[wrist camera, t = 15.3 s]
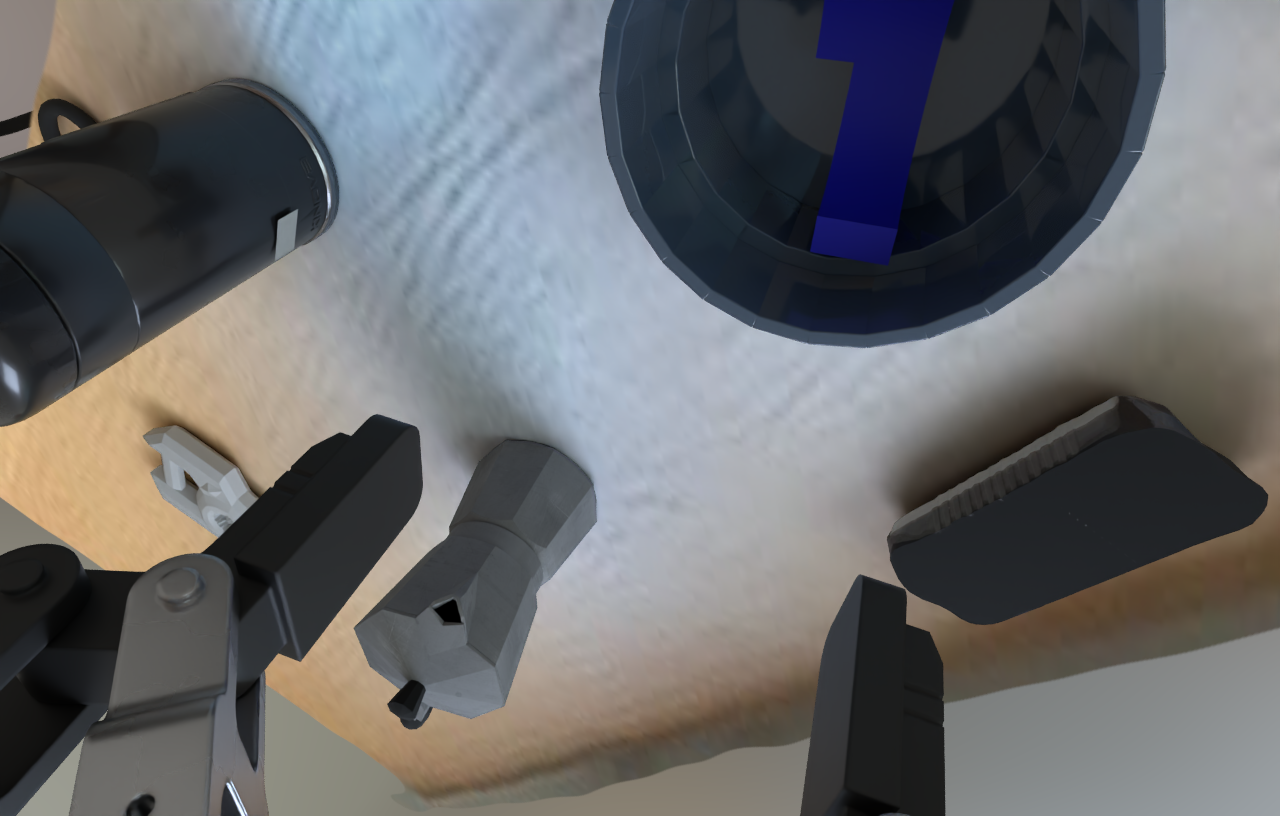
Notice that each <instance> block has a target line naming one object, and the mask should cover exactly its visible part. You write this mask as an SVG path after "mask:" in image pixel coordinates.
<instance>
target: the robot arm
mask: <svg viewBox="0 0 1280 816" xmlns="http://www.w3.org/2000/svg"><path fill="white" fill-rule="evenodd" d="M32 112H33V111H30V112H27V113H25V114H22V115H19V116H16V117H13V118H11V119H7V120H4V121H1V122H0V137H1V136H5V135H9V134H13V133H16V132H19V131H22V130H24V129H27V128H30V127H31V120H32ZM59 115H61V116H64V117H66V118H68V119H69V120H71V121H72V122H73V123H74V124H76V125H77V126H78V127H79V128H80V129H79V130H76V131H73V132H70V133H67V134H64V135H60V131H59V128H58V122H57V117H58V116H59ZM38 122H39V127H40V131H41V134H42V137H43V139H44V142H43V143H41V144H40V145H37V146H34V147H31V148H29V149H26V150H23V151H20V152H17V153H14V154H11V155H8V156H5V157H2V158H0V427H4V426H9V425H12V424H15V423H18V422H21V421H23V420H26V419H28V418H29V417H31V416H33V415H35V414H37V413H39V412H40V411H42V410H43V409H45V408H46V407H48V406H49V405H51V404H53V403H54V402H56V401H57V400H59V399H60V398H62V397H64V396H65V395H67V394H68V393H70V392H71V391H73V390H74V389H76V388H78V387H79V386H81V385H82V384H84V383H85V382H87V381H89V380H90V379H92V378H93V377H95V376H96V375H98V374H100V373H101V372H103V371H104V370H106V369H107V368H109V367H111V366H112V365H114V364H115V363H117V362H119V361H120V360H122V359H123V358H124V357H126V356H127V355H129V354H131V353H132V352H134V351H135V350H137V349H138V348H140V347H142V346H143V345H145V344H146V343H148V342H150V341H151V340H153V339H154V338H156V337H157V336H159V335H161V334H162V333H164V332H165V331H167V330H168V329H170V328H172V327H173V326H175V325H176V324H178V323H180V322H181V321H183V320H184V319H186V318H187V317H189V316H191V315H192V314H194V313H195V312H197V311H199V310H200V309H202V308H203V307H205V306H206V305H208V304H210V303H211V302H213V301H214V300H216V299H217V298H219V297H221V296H222V295H224V294H225V293H227V292H229V291H230V290H232V289H233V288H235V287H236V286H238V285H240V284H241V283H243V282H244V281H246V280H247V279H249V278H251V277H252V276H254V275H255V274H257V273H259V272H260V271H262V270H263V269H265V268H266V267H268V266H270V265H271V264H273V263H274V262H276V261H278V260H279V259H281V258H283V257H284V256H286V255H287V254H289V253H290V252H292V251H294V250H295V249H297V248H298V247H300V246H302V245H305V244H307V243H309V242H311V241H313V240H314V239H316V238H317V237H319V236H321V235H322V234H323V233H325V232H326V231H327V230H328V229H329V227H330V226H331V225H332V223H333V221H334V219H335V216H336V214H337V210H338V204H339V187H338V181H337V176H336V172H335V168H334V165H333V162H332V160H331V157H330V155H329V153H328V151H327V149H326V147H325V145H324V143H323V141H322V140H321V138H320V136H319V135H318V133H317V132H316V130H315V129H314V127H313V126H312V125H311V124H310V122H309V121H308V120H307V119H306V118H305V116H304V115H303V114H302V113H301V112H300V111H299V110H298V109H297V108H296V107H295V106H294V105H293V104H291V103H290V102H289V101H288V100H287V99H285V98H284V97H283V96H281V95H280V94H278V93H277V92H275V91H274V90H272V89H270V88H268V87H266V86H264V85H262V84H259V83H256V82H253V81H250V80H245V79H227V80H223V81H220V82H217V83H214V84H211V85H208V86H206V87H204V88H202V89H201V90H199V91H198V92H195V93H194V92H189V93H186V94H183V95H180V96H177V97H174V98H171V99H168V100H165V101H162V102H159V103H156V104H153V105H150V106H147V107H144V108H141V109H138V110H135V111H132V112H129V113H126V114H123V115H121V116H118V117H115V118H112V119H109V120H106V121H103V122H100V123H97V122H95V121H94V120H93V119H92V118H91V117H90V116H89V115H88V114H86V113H85V112H84V111H83V110H81V109H80V108H78V107H77V106H75V105H73V104H71V103H69V102H67V101H65V100H61V99H50V100H47V101H46V102H44V103H43V104H41V107H40V109H39V113H38ZM422 489H423V480H422V464H421V449H420V435H419V430H418V429H417V427H415V426H413V425H410V424H407V423H403V422H400V421H397V420H394V419H391V418H388V417H385V416H382V415H379V414H376V415H373V416H371V417H370V418H369V419H368V420H366V422H365V423H364V424H363V425H362V426H361V427H360V428H359V429H358V430H357V431H356V432H355V433H354V434H353V435H352V436H349V435H346V434H343V433H338V434H336V435H334V436H332V437H330V438H328V439H326V440H324V441H322V442H320V443H318V444H316V445H314V446H312V447H311V448H310V449H309V450H308V451H307V452H306V453H305V454H304V455H303V456H302V457H301V458H300V459H299V460H297V461H296V462H295V463H294V464H293V465H292V466H291V470H290V471H286V472H285V473H284V474H283V475H282V476H281V477H280V478H279V479H278V480H277V481H276V482H275V484H274V487H273V488H271V487H270V488H269V489H268V490H267V491H266V492H265V493H264V494H263V495H262V496H261V497H260V498H259V499H258V500H257V501H256V502H254V503H253V504H252V505H251V506H250V507H249V508H248V509H247V510H246V511H245V512H244V513H243V514H242V515H241V516H240V517H239V518H238V519H237V520H236V521H235V522H234V523H233V524H232V525H231V526H230V527H229V528H228V529H227V530H226V531H225V532H224V533H223V534H222V535H221V536H220V537H219V538H218V539H217V540H216V541H215V542H214V543H213V544H211V545H210V546H209V547H208V548H207V549H206V550H205V551H203V552H202V553H200V554H199V553H193V554H184V555H180V556H176V557H173V558H170V559H167V560H165V561H162V562H160V563H158V564H157V565H155V566H153V567H152V568H150V569H149V570H148V571H146V572H129V571H108V570H87V569H84V568H83V567H82V564H81V562H80V561H79V559H78V557H77V556H76V555H75V553H74V552H73V551H71V550H70V549H68V548H66V547H64V546H60V545H55V544H36V545H30V546H25V547H21V548H18V549H15V550H12V551H9V552H7V553H5V554H3V555H1V556H0V816H16V815H17V814H18V813H19V812H20V810H21V809H22V808H23V807H24V806H25V805H26V803H27V802H28V801H29V800H30V799H31V798H32V797H33V795H34V794H35V793H36V792H37V791H38V790H39V789H40V787H41V786H42V785H43V784H44V783H45V782H46V780H47V779H48V778H49V777H50V776H51V775H52V773H53V772H54V771H55V770H56V769H57V768H58V767H59V765H60V764H61V763H62V762H63V761H64V760H65V758H67V756H68V755H69V754H70V753H71V751H72V750H73V749H74V748H75V747H76V746H77V744H79V743H80V741H81V740H82V739H83V738H84V737H85V738H84V741H83V746H82V750H81V755H80V760H79V765H78V770H77V776H76V781H75V786H74V791H73V796H72V802H71V807H70V812H69V816H269V814H268V806H267V800H266V794H265V785H264V751H265V679H266V678H265V671H264V670H265V669H266V668H267V666H268V665H269V664H270V663H271V661H272V660H273V659H274V658H275V656H276V655H277V654H278V653H279V654H282V655H284V656H287V657H289V658H292V659H294V660H297V661H300V662H301V660H302V659H303V658H304V657H305V655H306V654H307V653H308V651H309V650H310V649H311V647H312V646H313V645H314V644H315V642H316V641H317V640H318V638H319V637H320V636H321V634H322V633H323V632H324V630H325V629H326V628H327V627H328V625H329V624H330V623H331V621H332V620H333V619H334V617H335V616H336V615H337V614H338V612H339V611H340V610H341V608H342V607H343V606H344V604H345V603H346V602H347V601H348V599H349V598H350V597H351V595H352V594H353V593H354V591H355V590H356V589H357V588H358V586H359V585H360V584H361V582H362V581H363V580H364V578H365V577H366V576H367V575H368V573H369V572H370V571H371V569H372V568H373V567H374V565H375V564H376V563H377V562H378V560H379V559H380V558H381V556H382V555H383V554H384V552H385V551H386V550H387V549H388V547H389V546H390V545H391V543H392V542H393V541H394V539H395V538H396V537H397V536H398V534H399V533H400V532H401V530H402V529H403V528H404V526H405V525H406V524H407V523H408V521H409V520H410V519H411V517H412V516H413V514H414V512H415V511H416V509H417V506H418V504H419V501H420V498H421V495H422ZM906 606H907V595H906V591H905V589H903V588H900V587H897V586H894V585H891V584H888V583H885V582H882V581H879V580H876V579H873V578H870V577H867V576H864V575H861V574H860V575H858V577H857V578H856V580H855V581H854V583H853V585H852V587H851V589H850V591H849V593H848V595H847V597H846V599H845V601H844V602H843V604H842V606H841V608H840V610H839V612H838V614H837V616H836V618H835V620H834V622H833V624H832V626H831V628H830V630H829V633H828V636H827V639H826V642H825V645H824V649H823V654H822V658H821V665H820V672H819V680H818V687H817V694H816V702H815V709H814V717H813V724H812V732H811V739H810V747H809V754H808V761H807V769H806V776H805V784H804V792H803V799H802V806H801V814H800V816H945V763H944V761H945V759H944V727H943V722H944V701H942V698H943V695H944V691H943V662H942V660H941V658H940V655H939V653H938V651H937V648H936V646H935V644H934V641H933V639H932V637H931V634H930V632H928V631H925V630H922V629H919V628H916V627H913V626H910V625H907V624H906ZM107 710H108V711H107ZM106 711H107V714H106V717H105V719H104V720H102V721H99V719H100V718H101V717H102V716H103V715H104V714H105V713H106Z"/></svg>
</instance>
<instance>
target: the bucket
mask: <svg viewBox="0 0 1280 816" xmlns="http://www.w3.org/2000/svg"><path fill="white" fill-rule="evenodd" d="M823 7H824V0H614V2H613V5H612V8H611V11H610V14H609V16H608V19H607V22H608V23H607V24H606V31H605V41H604V50H603V60H602V69H601V79H600V89H599V90H600V93H599V96H600V103H601V111H602V119H603V126H604V134H605V142H606V150H607V156H608V159H609V162H610V164H611V167H612V170H613V172H614V175H615V177H616V180H617V183H618V185H619V188H620V191H621V193H622V196H623V199H624V201H625V204H626V206H627V209H628V212H629V213H630V215H631V217H632V218H633V220H634V221H635V223H636V224H637V226H638V227H639V229H640V230H641V232H642V233H643V235H644V236H645V238H646V239H647V240H648V242H649V243H650V245H651V246H652V248H653V249H654V251H655V252H656V254H657V255H658V257H659V258H660V260H661V261H662V262H663V263H664V264H665V265H666V266H667V267H668V268H669V269H670V270H671V271H672V272H673V273H674V274H676V275H677V276H678V277H679V278H680V279H681V280H682V281H683V282H684V283H685V284H686V285H688V286H689V287H690V288H691V289H692V290H693V291H694V292H695V293H696V294H697V295H698V296H699V297H701V298H702V299H704V300H705V301H706V302H708V303H710V304H712V305H713V306H715V307H717V308H719V309H720V310H722V311H724V312H726V313H727V314H729V315H731V316H733V317H735V318H736V319H738V320H740V321H742V322H743V323H745V324H747V325H749V326H750V327H752V326H753V328H755V329H759V330H762V331H765V332H769V333H772V334H775V335H779V336H782V337H785V338H789V339H792V340H795V341H799V342H802V343H808V344H813V345H827V346H841V347H855V348H866V347H867V348H871V347H878V346H885V345H892V344H898V343H905V342H912V341H919V340H926V339H928V338H932V337H935V336H938V335H940V334H943V333H946V332H948V331H951V330H953V329H956V328H959V327H961V326H964V325H967V324H969V323H972V322H975V321H977V320H980V319H983V318H985V317H988V316H989V315H991V314H993V313H995V312H996V311H998V310H999V309H1001V308H1002V307H1004V306H1006V305H1007V304H1009V303H1010V302H1012V301H1013V300H1015V299H1016V298H1018V297H1019V296H1021V295H1022V294H1024V293H1025V292H1027V291H1028V290H1030V289H1032V288H1033V287H1035V286H1036V285H1038V284H1039V283H1041V282H1042V281H1044V280H1045V279H1047V278H1048V277H1049V276H1051V275H1052V274H1053V273H1054V272H1055V271H1056V270H1057V269H1058V268H1059V267H1060V266H1061V265H1062V264H1063V263H1064V261H1065V260H1066V259H1067V258H1068V257H1069V256H1070V255H1071V254H1072V253H1073V252H1074V251H1075V250H1076V249H1077V248H1078V247H1079V246H1080V245H1081V244H1082V243H1083V242H1084V241H1085V240H1086V239H1087V238H1088V237H1089V236H1090V235H1091V234H1092V232H1093V231H1094V230H1095V229H1096V228H1097V227H1098V226H1099V225H1100V224H1101V221H1103V220H1104V219H1105V217H1106V215H1107V213H1108V212H1109V210H1110V208H1111V207H1112V205H1113V203H1114V201H1115V200H1116V198H1117V196H1118V195H1119V193H1120V191H1121V190H1122V188H1123V186H1124V184H1125V183H1126V181H1127V179H1128V178H1129V176H1130V174H1131V172H1132V171H1133V169H1134V167H1135V166H1136V164H1137V162H1138V161H1139V159H1140V157H1141V155H1142V152H1143V150H1144V148H1145V144H1146V141H1147V137H1148V134H1149V130H1150V126H1151V123H1152V119H1153V116H1154V112H1155V109H1156V105H1157V101H1158V98H1159V94H1160V91H1161V87H1162V84H1163V80H1164V77H1165V72H1164V71H1165V70H1166V30H1165V0H954V3H953V7H952V10H951V13H950V17H949V20H948V24H947V27H946V31H945V34H944V37H943V41H942V45H941V48H940V52H939V55H938V59H937V63H936V66H935V70H934V74H933V77H932V81H931V85H930V89H929V93H928V96H927V100H926V104H925V108H924V112H923V116H922V120H921V124H920V128H919V132H918V136H917V140H916V144H915V149H914V153H913V157H912V161H911V166H910V170H909V174H908V179H907V183H906V188H905V193H904V198H903V203H902V208H901V213H900V219H899V225H898V231H897V234H896V238H895V242H894V245H893V249H892V253H891V256H890V260H889V264H888V266H887V265H881V264H875V263H870V262H864V261H859V260H853V259H847V258H842V257H836V256H830V255H825V254H819V253H814V252H810V250H811V245H812V240H813V235H814V230H815V225H816V220H817V215H818V212H819V209H820V206H821V202H822V199H823V195H824V191H825V188H826V184H827V180H828V176H829V172H830V168H831V164H832V160H833V156H834V152H835V147H836V143H837V139H838V135H839V130H840V126H841V121H842V117H843V113H844V108H845V103H846V99H847V94H848V90H849V85H850V80H851V75H852V71H853V66H854V63H853V62H844V61H836V60H828V59H820V58H816V53H817V47H818V41H819V35H820V28H821V22H822V15H823Z"/></svg>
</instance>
